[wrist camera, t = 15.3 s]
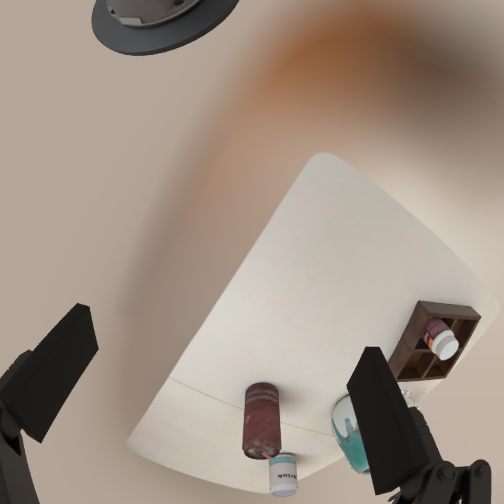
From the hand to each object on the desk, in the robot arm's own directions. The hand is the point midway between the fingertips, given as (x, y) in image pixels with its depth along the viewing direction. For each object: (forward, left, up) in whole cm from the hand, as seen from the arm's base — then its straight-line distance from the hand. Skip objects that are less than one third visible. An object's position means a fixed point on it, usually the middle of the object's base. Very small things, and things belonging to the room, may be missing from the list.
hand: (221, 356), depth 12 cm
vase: (+33, +28, -26) cm, 51 cm away
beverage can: (+59, +19, -26) cm, 67 cm away
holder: (+15, +38, -26) cm, 48 cm away
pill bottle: (+11, +34, -25) cm, 44 cm away
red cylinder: (+31, +8, -26) cm, 41 cm away
